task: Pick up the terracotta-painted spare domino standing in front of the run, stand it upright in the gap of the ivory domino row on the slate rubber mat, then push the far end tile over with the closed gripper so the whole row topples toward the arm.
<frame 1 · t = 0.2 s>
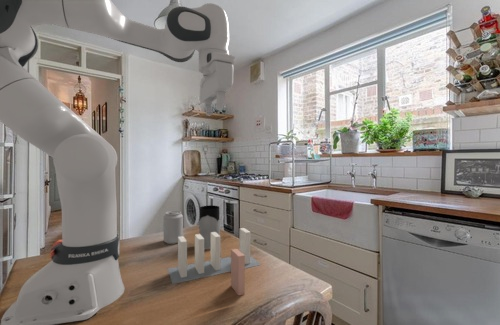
hand: (214, 112, 71), 47 cm above the table, fingers open, 8 cm apart
domino 1: (182, 273, 70), resting on mat
grey mug: (210, 244, 96), on the table
domino 5: (244, 260, 79), resting on mat
mat: (215, 267, 75), on the table
spare domino: (237, 291, 62), on the table
can: (173, 242, 98), on the table
domino 3: (215, 266, 75), resting on mat
domino 2: (199, 269, 73), resting on mat
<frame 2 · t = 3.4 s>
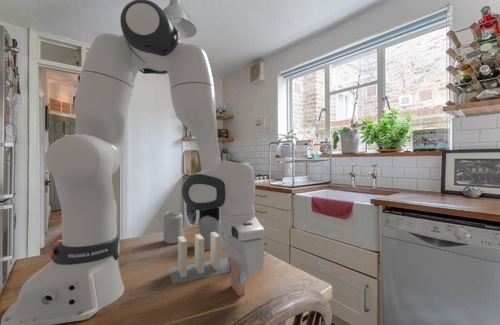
hand: (237, 276, 62), 4 cm above the table, fingers closed on spare domino, 5 cm apart
spare domino: (237, 291, 62), on the table, touching gripper
everything else where it was.
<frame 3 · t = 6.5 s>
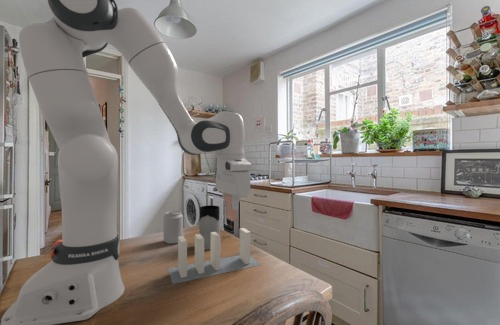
hand: (230, 207, 77), 18 cm above the table, fingers closed on spare domino, 5 cm apart
spare domino: (231, 219, 77), point 15 cm above the table, touching gripper
everything else where it was.
when the fingers open (4 cm above the table, at t = 9.3 s): spare domino stays where it is, resting on mat.
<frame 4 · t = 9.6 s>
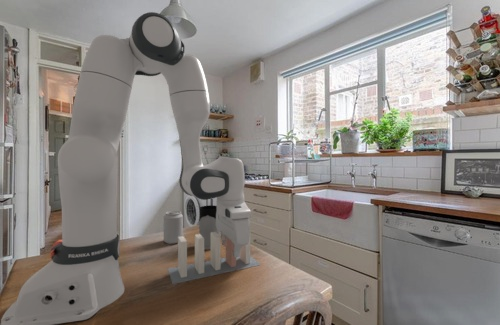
hand: (230, 250, 77), 4 cm above the table, fingers open, 8 cm apart
spare domino: (230, 263, 77), resting on mat
everything else where it was.
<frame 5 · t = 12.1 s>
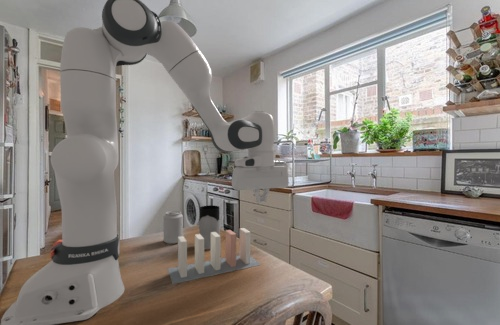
hand: (261, 202, 81), 19 cm above the table, fingers closed
nothing on the table moved.
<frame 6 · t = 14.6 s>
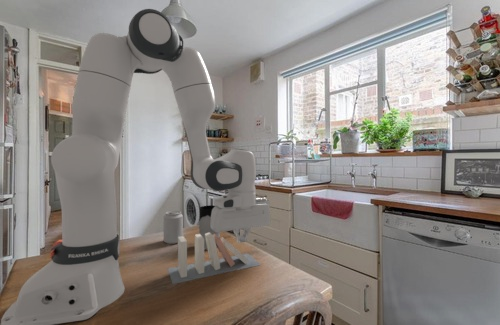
hand: (241, 241, 79), 7 cm above the table, fingers closed
domino 5: (243, 259, 79), point 1 cm above the table, tilted 46°, touching mat
spare domino: (230, 262, 77), point 1 cm above the table, tilted 30°
domino 3: (215, 266, 75), point 1 cm above the table, tilted 11°, touching mat
everything else where it was.
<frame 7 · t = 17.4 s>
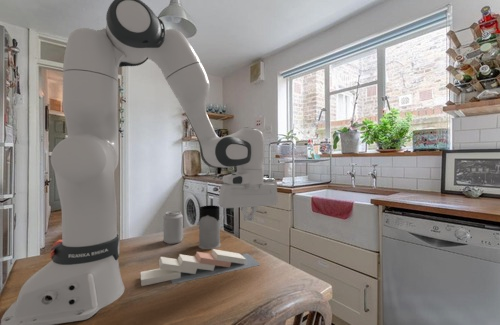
hand: (248, 220, 79), 14 cm above the table, fingers closed
domino 1: (178, 271, 70), point 1 cm above the table, tilted 90°, touching domino 2, mat
domino 5: (242, 258, 79), point 1 cm above the table, tilted 72°, touching mat, spare domino
spare domino: (227, 261, 77), point 1 cm above the table, tilted 72°, touching domino 3, domino 5, mat
domino 3: (211, 264, 74), point 1 cm above the table, tilted 71°, touching domino 2, mat, spare domino
domino 2: (194, 267, 72), point 1 cm above the table, tilted 71°, touching domino 1, domino 3
everything else where it was.
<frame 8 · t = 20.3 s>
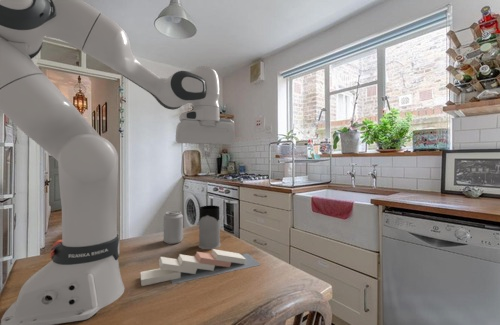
hand: (206, 157, 83), 34 cm above the table, fingers closed
nothing on the table moved.
at the end: domino 1 tilted 90°; spare domino tilted 72° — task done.
